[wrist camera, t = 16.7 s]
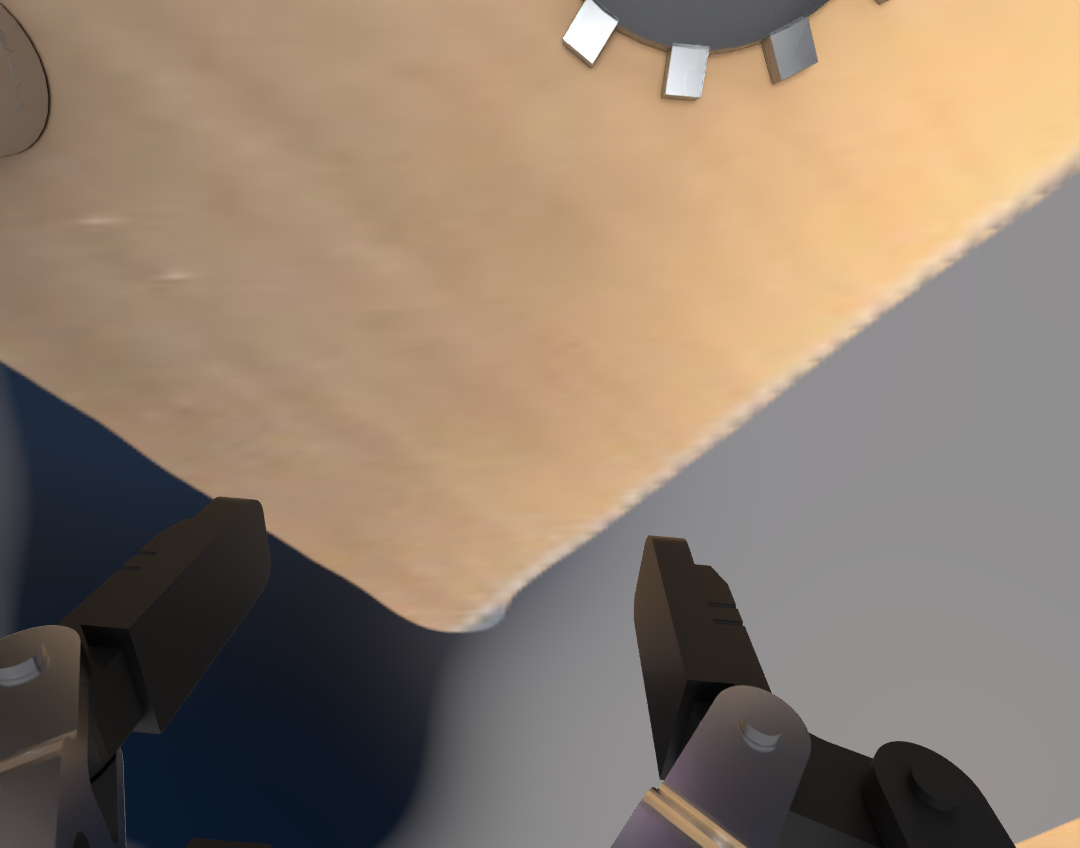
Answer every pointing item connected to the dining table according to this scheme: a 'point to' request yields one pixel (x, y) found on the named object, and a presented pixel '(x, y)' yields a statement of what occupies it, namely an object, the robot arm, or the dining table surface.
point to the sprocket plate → (700, 34)
